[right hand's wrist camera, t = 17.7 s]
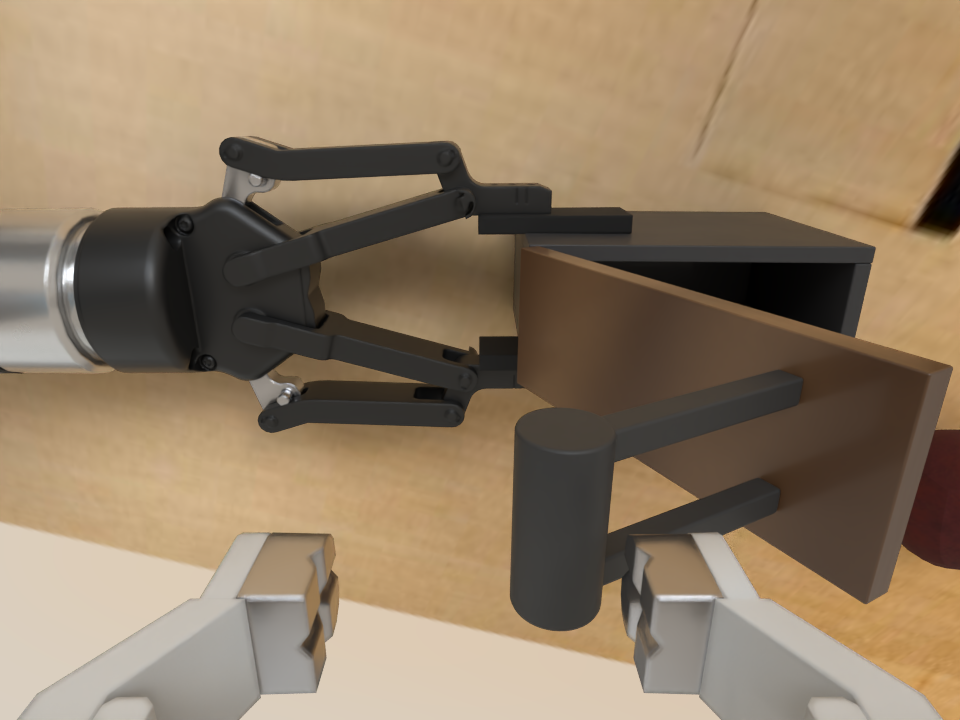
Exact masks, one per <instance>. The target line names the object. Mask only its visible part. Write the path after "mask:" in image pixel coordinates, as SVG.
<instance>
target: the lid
mask: <svg viewBox="0 0 960 720" xmlns="http://www.w3.org/2000/svg"><path fill="white" fill-rule="evenodd" d="M952 370H953V367H952V366H950V365H946V364H943V363H940V362H936V361H933V360H929V359H926V358H922V357H919V356H915V355H912V354H909V353H905V352H902V351H898V350H895V349H891V348H888V347H884V346H881V345H878V344H874V343H871V342H867V341H864V340H860V339H857V338H854V337H850V336H847V335H843V334H840V333H836V332H833V331H829V330H826V329H823V328H819V327H816V326H812V325H809V324H805V323H802V322H798V321H795V320H792V319H788V318H785V317H781V316H778V315H774V314H771V313H767V312H764V311H761V310H757V309H754V308H750V307H747V306H743V305H740V304H737V303H733V302H730V301H726V300H723V299H719V298H716V297H712V296H709V295H706V294H702V293H699V292H695V291H692V290H688V289H685V288H681V287H678V286H675V285H671V284H668V283H664V282H661V281H657V280H654V279H650V278H647V277H644V276H640V275H637V274H633V273H630V272H626V271H623V270H619V269H616V268H613V267H609V266H606V265H602V264H599V263H595V262H592V261H589V260H585V259H582V258H578V257H575V256H571V255H568V254H564V253H561V252H558V251H554V250H551V249H547V248H544V247H540V246H535V247H525V248H521V262H520V295H519V329H518V362H517V383H518V384H520V385H521V386H523V387H525V388H526V389H528V390H529V391H531V392H532V393H534V394H536V395H537V396H539V397H540V398H542V399H543V400H545V401H547V402H548V403H550V404H551V405H553V406H554V407H556V408H545V409H539V410H535V411H532V412H530V413H527V414H525V415H524V416H522V417H521V418H520V419H519V420H518V422H517V424H516V426H515V440H514V474H513V508H512V542H511V575H510V599H511V602H512V605H513V607H514V609H515V610H516V612H517V613H518V614H519V615H520V616H521V617H522V618H523V619H524V620H526V621H527V622H529V623H530V624H532V625H534V626H537V627H539V628H543V629H546V630H552V631H569V630H574V629H578V628H580V627H583V626H585V625H587V624H588V623H589V622H591V621H592V620H593V619H594V618H595V616H596V615H597V613H598V612H599V609H600V606H601V597H602V587H603V586H604V585H606V584H608V583H611V582H613V581H615V580H618V579H620V578H622V577H623V576H624V574H625V573H626V572H627V571H628V570H629V568H628V565H627V562H626V559H625V556H624V552H625V543H626V539H627V536H628V535H634V534H688V533H708V532H718V533H719V534H721V535H724V534H727V533H729V532H731V531H734V530H736V529H738V528H741V527H744V528H746V529H748V530H749V531H751V532H752V533H754V534H755V535H757V536H759V537H760V538H762V539H763V540H765V541H766V542H768V543H770V544H771V545H773V546H774V547H776V548H777V549H779V550H781V551H782V552H784V553H785V554H787V555H788V556H790V557H792V558H793V559H795V560H796V561H798V562H799V563H801V564H803V565H804V566H806V567H807V568H809V569H810V570H812V571H814V572H815V573H817V574H818V575H820V576H821V577H823V578H825V579H826V580H828V581H829V582H831V583H832V584H834V585H836V586H837V587H839V588H840V589H842V590H843V591H845V592H847V593H848V594H850V595H851V596H853V597H854V598H856V599H858V600H859V601H861V602H862V603H864V604H868V603H869V602H871V601H873V600H875V599H876V598H878V597H880V596H881V595H883V594H885V593H886V592H888V588H889V585H890V581H891V578H892V574H893V571H894V568H895V564H896V561H897V557H898V554H899V551H900V547H901V544H902V540H903V537H904V534H905V530H906V527H907V523H908V520H909V516H910V513H911V510H912V506H913V503H914V499H915V496H916V493H917V489H918V486H919V482H920V479H921V476H922V472H923V469H924V465H925V462H926V458H927V455H928V452H929V448H930V445H931V441H932V438H933V435H934V431H935V428H936V424H937V421H938V417H939V414H940V411H941V407H942V404H943V400H944V397H945V394H946V390H947V387H948V383H949V380H950V377H951V373H952ZM630 457H634V458H636V459H638V460H639V461H641V462H642V463H644V464H645V465H647V466H649V467H650V468H652V469H653V470H655V471H656V472H658V473H660V474H661V475H663V476H664V477H666V478H667V479H669V480H671V481H672V482H674V483H675V484H677V485H678V486H680V487H682V488H683V489H685V490H686V491H688V492H689V493H691V494H693V495H694V496H696V497H697V498H699V500H696V501H694V502H691V503H688V504H686V505H683V506H680V507H678V508H675V509H672V510H670V511H667V512H664V513H662V514H659V515H656V516H654V517H651V518H648V519H646V520H643V521H641V522H638V523H635V524H633V525H630V526H627V527H625V528H622V529H619V530H617V531H614V532H611V533H609V534H607V533H608V523H609V512H610V501H611V491H612V480H613V469H614V462H617V461H620V460H623V459H626V458H630Z"/></svg>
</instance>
